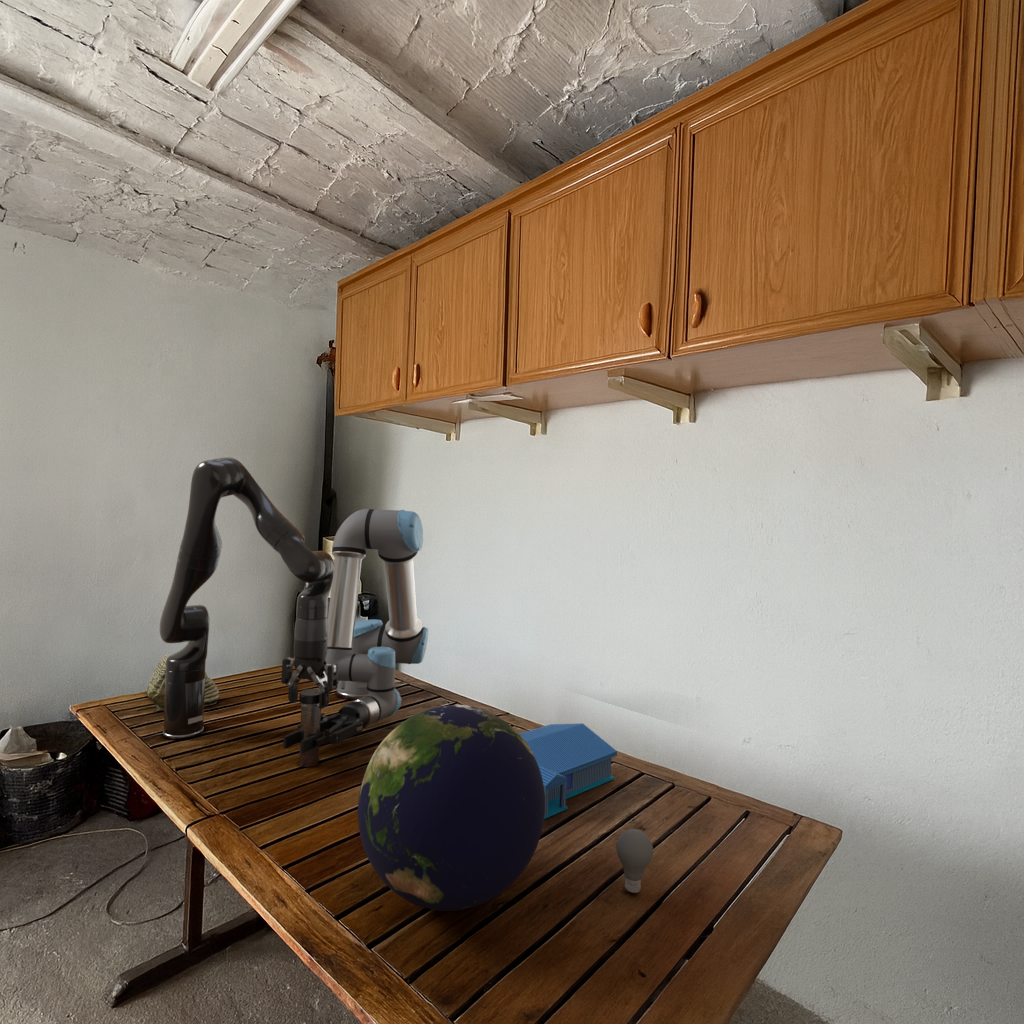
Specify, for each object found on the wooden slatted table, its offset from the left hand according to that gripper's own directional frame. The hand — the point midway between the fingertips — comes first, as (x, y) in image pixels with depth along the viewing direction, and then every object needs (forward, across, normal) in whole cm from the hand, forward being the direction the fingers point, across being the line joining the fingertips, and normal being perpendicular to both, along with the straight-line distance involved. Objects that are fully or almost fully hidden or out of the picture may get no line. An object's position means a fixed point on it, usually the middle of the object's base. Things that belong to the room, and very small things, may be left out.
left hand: (308, 705), depth 149 cm
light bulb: (+14, +79, -19) cm, 83 cm away
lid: (-2, 0, +1) cm, 3 cm away
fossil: (+15, -56, +19) cm, 61 cm away
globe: (+14, +51, -32) cm, 62 cm away
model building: (+14, +52, +10) cm, 55 cm away
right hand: (+8, 0, -4) cm, 9 cm away
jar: (+14, 0, +1) cm, 14 cm away
